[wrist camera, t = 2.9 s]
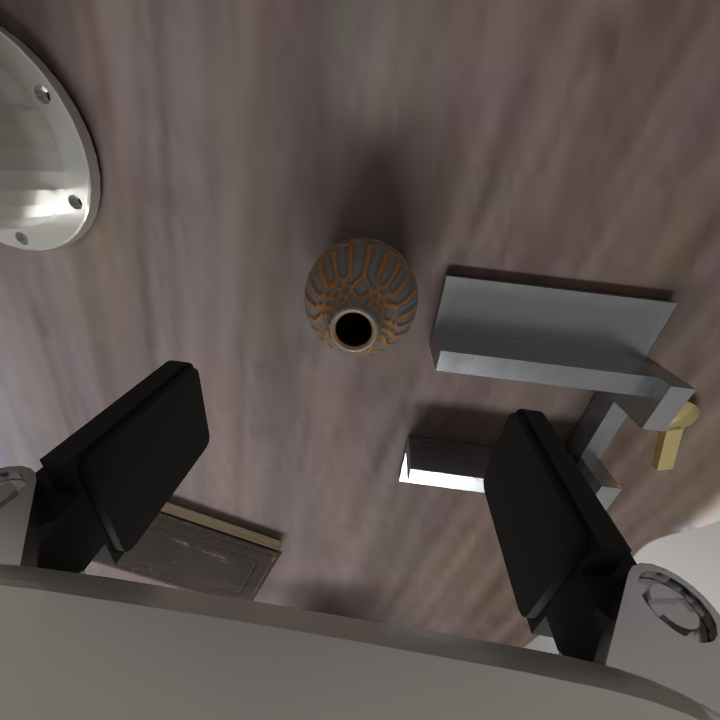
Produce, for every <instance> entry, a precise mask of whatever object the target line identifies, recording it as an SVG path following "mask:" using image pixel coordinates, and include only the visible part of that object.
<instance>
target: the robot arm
mask: <svg viewBox="0 0 720 720" xmlns="http://www.w3.org/2000/svg"><path fill="white" fill-rule="evenodd" d="M100 197H101V193H100V173H99V167H98V162H97V156H96V153H95V150H94V147H93V144H92V141H91V138H90V135H89V133H88V130H87V128H86V126H85V124H84V122H83V120H82V118H81V116H80V114H79V112H78V110H77V108H76V106H75V105H74V103H73V102H72V100H71V99H70V97H69V95H68V94H67V92H66V91H65V89H64V88H63V86H62V85H61V83H60V82H59V81H58V80H57V79H56V77H55V76H54V75H53V74H52V72H51V71H50V70H49V69H48V68H47V66H46V65H45V64H44V63H43V62H42V61H41V60H40V59H39V58H38V57H37V56H36V55H35V54H34V53H33V52H32V51H31V50H30V49H29V48H28V47H27V46H26V45H25V44H24V43H23V42H22V41H20V40H19V39H17V38H16V37H15V36H13V35H12V34H11V33H9V32H8V31H6V30H5V29H4V28H2V27H1V26H0V242H1V243H3V244H6V245H9V246H13V247H17V248H20V249H25V250H39V251H40V250H47V249H53V248H59V247H62V246H66V245H69V244H72V243H73V242H75V241H76V240H78V239H80V238H81V237H83V235H84V234H85V233H86V232H87V231H88V230H89V228H90V227H91V226H92V224H93V221H94V219H95V217H96V215H97V212H98V207H99V202H100ZM208 442H209V431H208V425H207V419H206V413H205V407H204V401H203V396H202V390H201V384H200V378H199V373H198V370H197V369H195V368H194V367H193V365H192V364H191V363H187V362H180V361H172V360H171V361H168V362H166V363H165V364H163V365H162V366H161V367H160V368H158V369H157V370H156V371H154V372H153V373H152V374H150V375H149V376H148V377H147V378H145V379H144V380H143V381H141V382H140V383H139V384H137V385H136V386H135V387H134V388H132V389H131V390H130V391H128V392H127V393H126V394H124V395H123V396H122V397H121V398H119V399H118V400H117V401H115V402H114V403H113V404H111V405H110V406H109V407H108V408H106V409H105V410H104V411H102V412H101V413H100V414H98V415H97V416H96V417H95V418H93V419H92V420H91V421H89V422H88V423H87V424H85V425H84V426H83V427H82V428H80V429H79V430H78V431H76V432H75V433H74V434H72V435H71V436H70V437H69V438H67V439H66V440H65V441H63V442H62V443H61V444H60V445H58V446H57V447H56V448H54V449H53V450H52V451H50V452H49V453H48V454H47V455H45V456H44V457H43V458H41V459H40V461H41V463H42V465H43V467H42V468H41V469H40V470H39V471H37V472H36V473H35V472H34V471H33V470H32V469H31V468H27V467H23V466H10V467H5V468H0V720H720V615H719V613H718V612H717V611H716V610H715V609H714V607H713V606H712V605H711V604H710V603H709V601H708V600H707V599H706V598H705V597H704V596H703V595H702V594H701V593H700V592H698V591H697V590H696V589H695V588H694V587H693V586H692V585H690V584H689V583H688V582H686V581H685V580H683V579H682V578H681V577H679V576H678V575H676V574H674V573H672V572H670V571H668V570H667V569H665V568H662V567H659V566H656V565H653V564H645V563H640V564H637V563H636V562H635V561H634V559H633V557H632V556H631V554H630V552H631V549H630V547H629V546H628V544H627V543H626V541H625V540H624V538H623V537H622V535H621V533H620V532H619V530H618V529H617V527H616V526H615V524H614V523H613V521H612V519H611V518H610V516H609V515H608V513H607V512H606V510H605V509H604V507H603V505H602V504H601V502H600V501H599V499H598V498H597V496H596V495H595V493H594V492H593V490H592V488H591V487H590V485H589V484H588V482H587V481H586V479H585V478H584V476H583V474H582V473H581V471H580V470H579V468H578V467H577V465H576V464H575V462H574V460H573V459H572V457H571V456H570V454H569V453H568V451H567V450H566V448H565V446H564V445H563V443H562V442H561V440H560V439H559V437H558V436H557V434H556V432H555V431H554V429H553V428H552V426H551V425H550V423H549V422H548V420H547V418H546V417H545V415H544V414H543V413H542V412H540V411H533V410H525V409H519V410H518V411H517V412H516V413H511V414H510V416H509V418H508V420H507V423H506V425H505V427H504V430H503V432H502V435H501V437H500V439H499V442H498V444H497V447H496V449H495V452H494V454H493V456H492V459H491V461H490V464H489V466H488V468H487V471H486V473H485V476H484V480H483V487H484V491H485V495H486V498H487V502H488V505H489V509H490V512H491V516H492V519H493V522H494V526H495V529H496V533H497V536H498V540H499V543H500V547H501V550H502V554H503V557H504V561H505V564H506V568H507V571H508V575H509V578H510V582H511V585H512V588H513V592H514V595H515V599H516V602H517V606H518V609H519V611H520V613H521V615H522V616H523V617H527V620H528V623H529V626H530V630H531V633H532V634H536V635H542V636H548V637H553V638H554V641H555V643H556V646H557V649H558V651H559V654H558V655H557V654H552V653H546V652H541V651H536V650H531V649H526V648H521V647H516V646H511V645H505V644H500V643H495V642H490V641H484V640H478V639H472V638H467V637H461V636H455V635H449V634H444V633H438V632H432V631H426V630H420V629H415V628H409V627H403V626H397V625H392V624H386V623H380V622H374V621H368V620H363V619H357V618H351V617H345V616H339V615H333V614H327V613H321V612H315V611H309V610H303V609H297V608H291V607H285V606H279V605H273V604H267V603H261V602H255V601H249V600H243V599H237V598H231V597H225V596H219V595H213V594H207V593H201V592H194V591H188V590H182V589H176V588H170V587H163V586H157V585H151V584H145V583H139V582H133V581H126V580H120V579H114V578H108V577H101V576H94V575H87V574H85V568H86V567H87V566H88V565H89V563H90V562H91V561H92V560H94V561H96V562H102V563H108V564H114V565H116V563H117V562H118V561H119V559H120V558H121V557H122V555H123V554H124V553H125V552H128V551H130V550H131V549H132V548H134V546H135V545H136V544H137V542H138V541H139V540H140V538H141V537H142V536H143V534H144V533H145V531H146V530H147V529H148V527H149V526H150V525H151V523H152V522H153V520H154V519H155V518H156V516H157V515H158V513H159V512H160V511H161V509H162V508H163V507H164V505H165V504H166V502H167V501H168V500H169V498H170V497H171V496H172V494H173V493H174V491H175V490H176V489H177V487H178V486H179V484H180V483H181V482H182V480H183V479H184V478H185V476H186V475H187V473H188V472H189V471H190V469H191V468H192V467H193V465H194V464H195V462H196V461H197V460H198V458H199V457H200V456H201V454H202V453H203V451H204V450H205V449H206V447H207V445H208Z"/></svg>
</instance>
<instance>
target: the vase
mask: <svg viewBox="0 0 720 720" xmlns="http://www.w3.org/2000/svg"><path fill="white" fill-rule="evenodd" d="M304 300H305V309H306V314H307V317H308V320H309V322H310V325H311V327H312V328H313V330H314V332H315V333H316V334H317V336H318V337H319V338H320V339H321V340H322V341H323V342H324V343H325V344H326V345H328V346H329V347H331V348H332V349H334V350H336V351H338V352H340V353H343V354H346V355H351V356H370V355H375V354H378V353H381V352H383V351H385V350H387V349H389V348H390V347H392V346H393V345H394V344H396V343H397V342H398V341H399V340H400V339H401V338H402V337H403V336H404V334H405V333H406V332H407V330H408V329H409V327H410V325H411V323H412V321H413V319H414V316H415V313H416V309H417V304H418V289H417V283H416V279H415V276H414V274H413V271H412V269H411V267H410V265H409V264H408V262H407V261H406V259H405V258H404V257H403V256H402V254H401V253H400V252H399V251H397V250H396V249H395V248H394V247H392V246H391V245H389V244H387V243H385V242H383V241H380V240H377V239H373V238H367V237H357V238H351V239H347V240H344V241H342V242H339V243H337V244H335V245H334V246H332V247H330V248H329V249H328V250H327V251H325V252H324V253H323V254H322V255H321V256H320V257H319V258H318V260H317V261H316V263H315V264H314V265H313V267H312V269H311V271H310V273H309V275H308V278H307V282H306V286H305V297H304Z"/></svg>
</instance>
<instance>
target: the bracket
mask: <svg viewBox="0 0 720 720" xmlns="http://www.w3.org/2000/svg"><path fill="white" fill-rule="evenodd" d="M677 304H678V303H676V302H673V301H671V300H662V299H654V298H646V297H637V296H629V295H620V294H612V293H604V292H595V291H587V290H578V289H570V288H562V287H553V286H545V285H536V284H528V283H520V282H511V281H503V280H494V279H486V278H478V277H469V276H461V275H452V274H445V278H444V282H443V287H442V291H441V295H440V300H439V304H438V308H437V313H436V317H435V322H434V326H433V330H432V335H431V339H430V343H429V345H430V349H431V353H432V357H433V361H434V365H435V369H436V370H437V371H445V372H453V373H461V374H469V375H477V376H485V377H493V378H501V379H509V380H517V381H525V382H533V383H541V384H549V385H557V386H565V387H573V388H581V389H589V390H597V391H596V393H595V395H594V396H593V398H592V400H591V402H590V404H589V405H588V407H587V409H586V411H585V412H584V414H583V416H582V418H581V420H580V421H579V423H578V425H577V427H576V428H575V430H574V432H573V434H572V436H571V437H570V439H569V441H568V443H567V444H566V446H565V448H566V450H567V451H568V453H569V454H570V456H571V457H572V459H573V460H574V462H575V464H576V465H577V467H578V468H579V470H580V471H581V473H582V474H583V476H584V478H585V479H586V481H587V482H588V484H589V485H590V487H591V488H592V490H593V492H594V493H595V495H596V496H597V498H598V499H599V501H600V502H601V504H602V505H603V507H604V509H605V510H607V508H608V507H609V506H610V504H611V503H612V502H613V500H614V499H615V498H616V496H617V495H618V494H619V492H620V491H621V490H622V489H621V487H620V486H619V485H618V483H617V482H616V481H615V479H614V478H613V477H612V475H611V474H610V473H609V472H608V470H607V469H606V468H605V466H604V465H603V464H602V462H601V461H600V460H599V458H600V457H601V455H602V454H603V452H604V451H605V449H606V448H607V446H608V444H609V443H610V441H611V440H612V438H613V437H614V435H615V434H616V432H617V431H618V429H619V427H620V426H621V424H622V423H623V421H624V420H625V418H626V417H627V415H628V416H629V417H630V418H631V419H632V420H633V421H634V422H635V423H637V424H638V425H639V426H640V427H641V428H642V429H648V430H656V431H663V432H665V431H666V429H667V428H668V427H669V425H670V424H671V423H672V421H673V420H674V419H675V417H676V416H677V415H678V413H679V412H680V411H681V409H682V408H683V407H684V405H685V404H686V402H687V401H688V400H689V398H690V397H691V396H692V394H693V393H694V392H695V390H696V389H695V388H693V387H692V386H690V385H689V384H687V383H686V382H684V381H683V380H681V379H680V378H678V377H677V376H675V375H674V374H672V373H671V372H669V371H668V370H666V369H665V368H664V367H662V366H661V365H659V364H658V363H656V362H655V361H653V360H652V359H650V358H649V357H647V356H646V355H647V353H648V351H649V350H650V348H651V346H652V345H653V343H654V341H655V340H656V338H657V337H658V335H659V333H660V332H661V330H662V328H663V327H664V325H665V324H666V322H667V320H668V319H669V317H670V315H671V314H672V312H673V310H674V309H675V307H676V306H677ZM495 449H496V447H493V446H485V445H478V444H470V443H462V442H455V441H447V440H439V439H432V438H424V437H416V436H409V435H408V439H407V444H406V448H405V452H404V457H403V461H402V465H401V470H400V474H399V481H401V482H409V483H416V484H424V485H431V486H439V487H446V488H454V489H461V490H469V491H476V492H484V493H485V491H484V487H483V480H484V476H485V473H486V471H487V468H488V466H489V464H490V461H491V459H492V456H493V454H494V452H495Z"/></svg>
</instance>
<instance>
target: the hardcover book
mask: <svg viewBox="0 0 720 720" xmlns="http://www.w3.org/2000/svg"><path fill="white" fill-rule="evenodd" d="M281 543H282V541H279V540H276V539H273V538H270V537H267V536H264V535H261V534H259V533H256V532H253V531H250V530H247V529H244V528H241V527H238V526H235V525H232V524H229V523H226V522H224V521H221V520H218V519H215V518H212V517H209V516H206V515H203V514H200V513H197V512H194V511H191V510H189V509H186V508H183V507H180V506H177V505H174V504H171V503H168V502H166V504H165V505H164V507H163V508H162V509H161V511H160V512H159V513H158V515H157V516H156V518H155V519H154V520H153V522H152V523H151V525H150V526H149V527H148V529H147V530H146V531H145V533H144V534H143V536H142V537H141V538H140V540H139V541H138V542H137V544H136V545H135V546H134V548H132V549H131V550H130V551H128V552H125V553H124V554H123V555H122V557H121V558H120V559H119V561H118V562H117V563H116V565H114V564H108V563H102V562H96V561H94V560H92V561H93V562H96V563H99V564H103V565H106V566H109V567H113V568H116V569H119V570H122V571H126V572H129V573H132V574H135V575H139V576H142V577H145V578H149V579H152V580H155V581H158V582H162V583H165V584H168V585H171V586H175V587H178V588H181V589H185V590H188V591H194V592H201V593H207V594H213V595H219V596H225V597H231V598H237V599H243V600H249V601H253V599H254V597H255V596H256V594H257V593H258V591H259V589H260V588H261V586H262V584H263V583H264V581H265V579H266V578H267V576H268V575H269V573H270V571H271V570H272V568H273V566H274V565H275V563H276V561H277V560H278V558H279V557H280V555H281V551H279V549H280V545H281Z"/></svg>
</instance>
